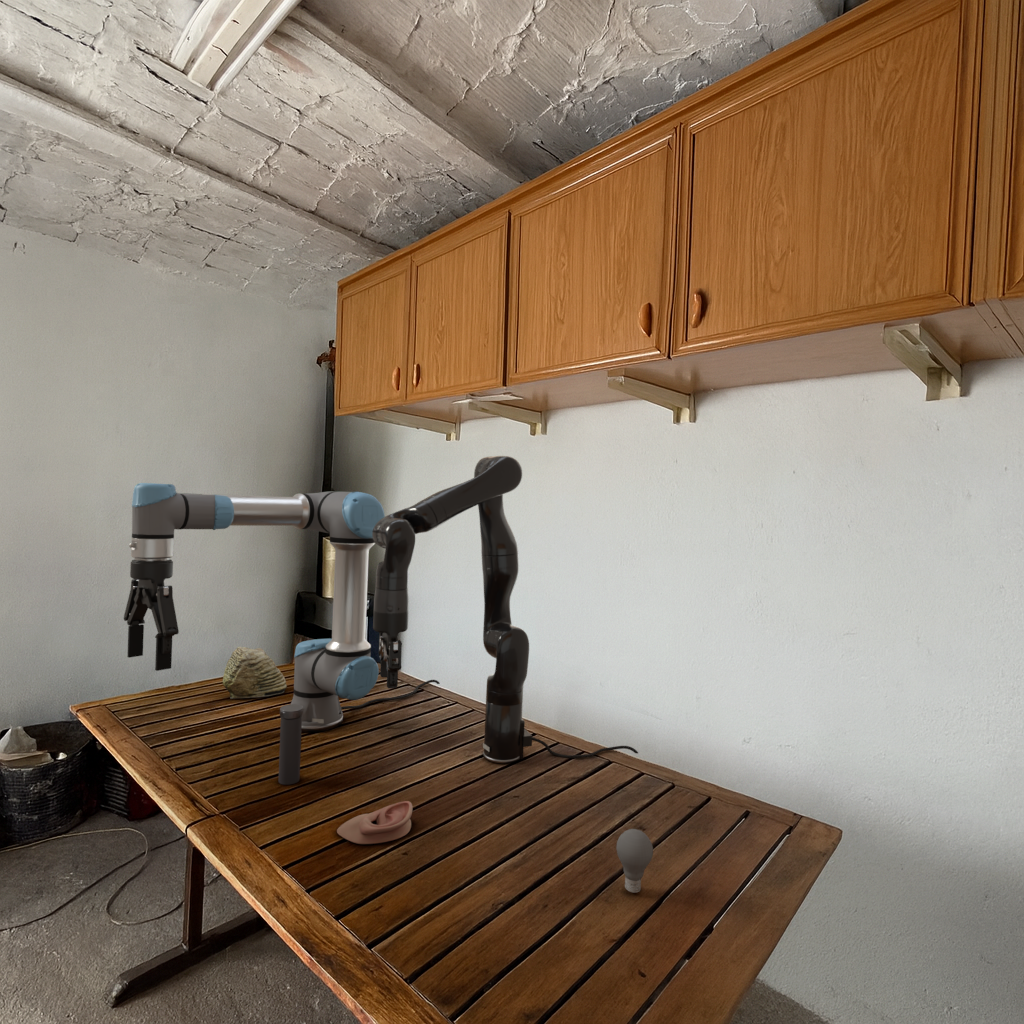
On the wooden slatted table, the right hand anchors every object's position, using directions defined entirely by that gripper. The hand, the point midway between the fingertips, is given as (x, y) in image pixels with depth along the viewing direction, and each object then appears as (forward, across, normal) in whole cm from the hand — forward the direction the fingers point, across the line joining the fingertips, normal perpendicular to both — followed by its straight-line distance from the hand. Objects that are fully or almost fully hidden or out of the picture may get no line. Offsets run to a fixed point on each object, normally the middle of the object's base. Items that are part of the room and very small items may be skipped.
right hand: (388, 682), depth 139 cm
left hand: (-5, +8, +48) cm, 49 cm away
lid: (+7, +9, +20) cm, 23 cm away
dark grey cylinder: (+23, +9, +20) cm, 32 cm away
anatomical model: (+23, -18, +5) cm, 30 cm away
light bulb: (+23, -49, -33) cm, 63 cm away
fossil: (+23, +73, +28) cm, 82 cm away
